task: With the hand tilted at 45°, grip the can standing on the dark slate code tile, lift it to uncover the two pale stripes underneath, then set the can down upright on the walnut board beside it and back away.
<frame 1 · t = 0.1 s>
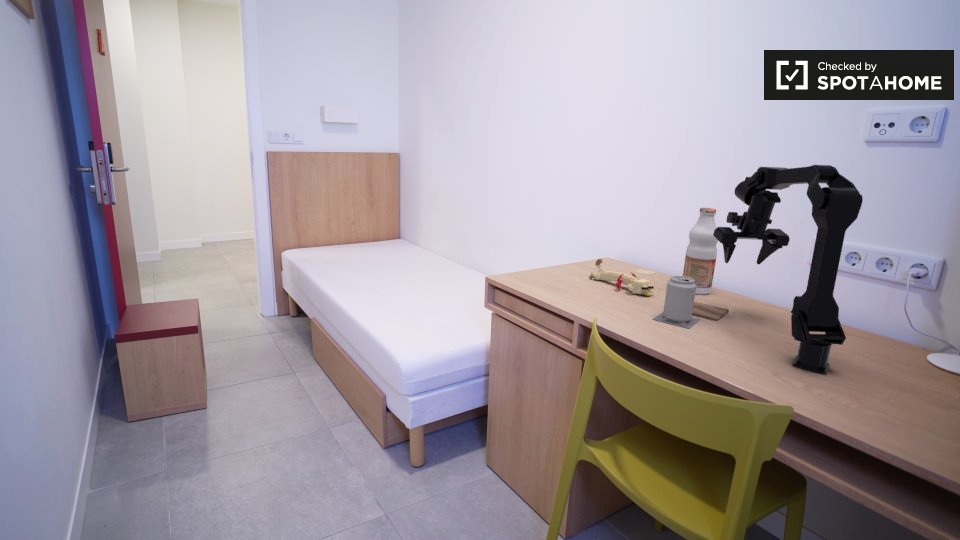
hand: (741, 263, 141), 15 cm above the table, tool pointing down, fingers open, 9 cm apart
cream voxel animal: (620, 288, 168), on the table
fruit juice: (695, 291, 167), on the table
board: (701, 311, 146), on the table
can: (676, 319, 138), on the table, touching code tile
code tile: (676, 319, 138), on the table
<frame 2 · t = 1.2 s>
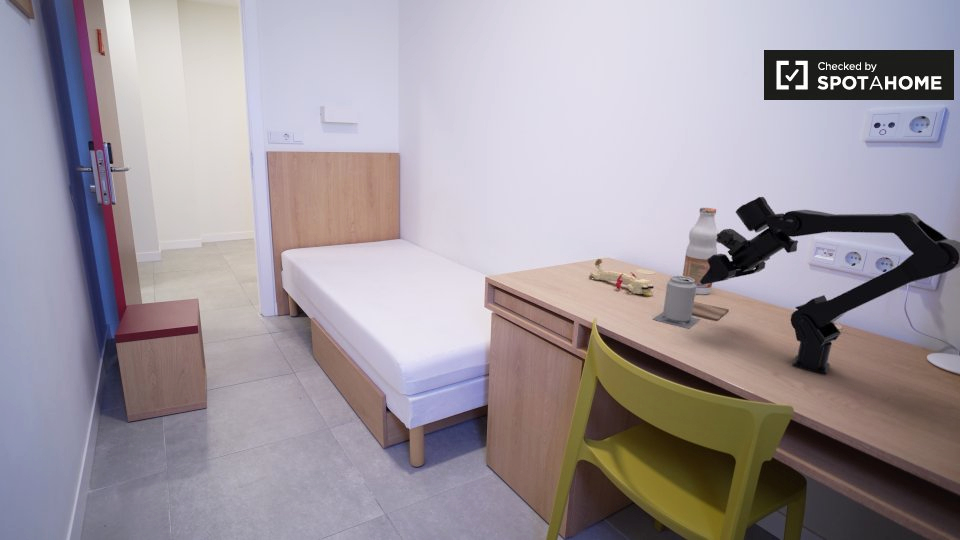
hand: (711, 280, 129), 13 cm above the table, tool tilted 45°, fingers open, 9 cm apart
nothing on the table moved.
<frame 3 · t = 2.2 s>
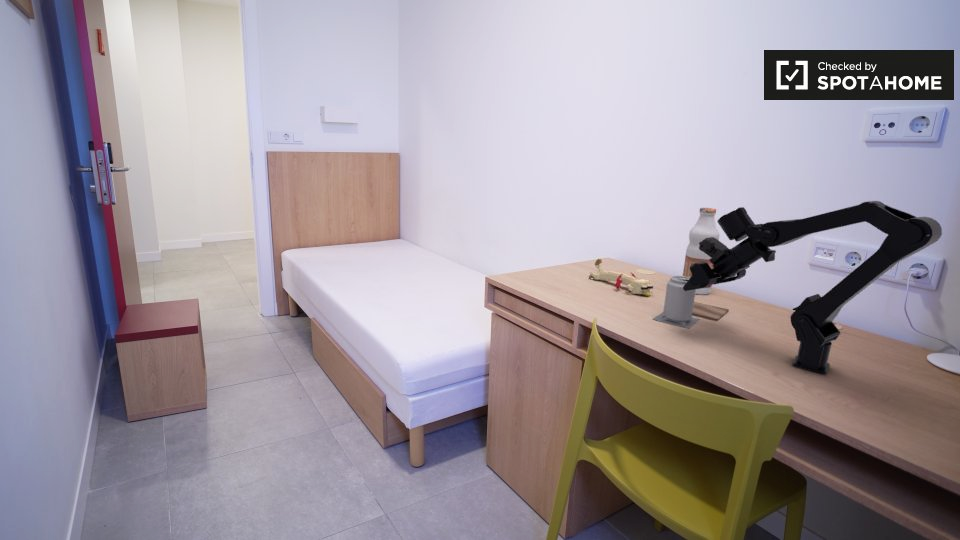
hand: (693, 286, 133), 11 cm above the table, tool tilted 45°, fingers open, 9 cm apart
nothing on the table moved.
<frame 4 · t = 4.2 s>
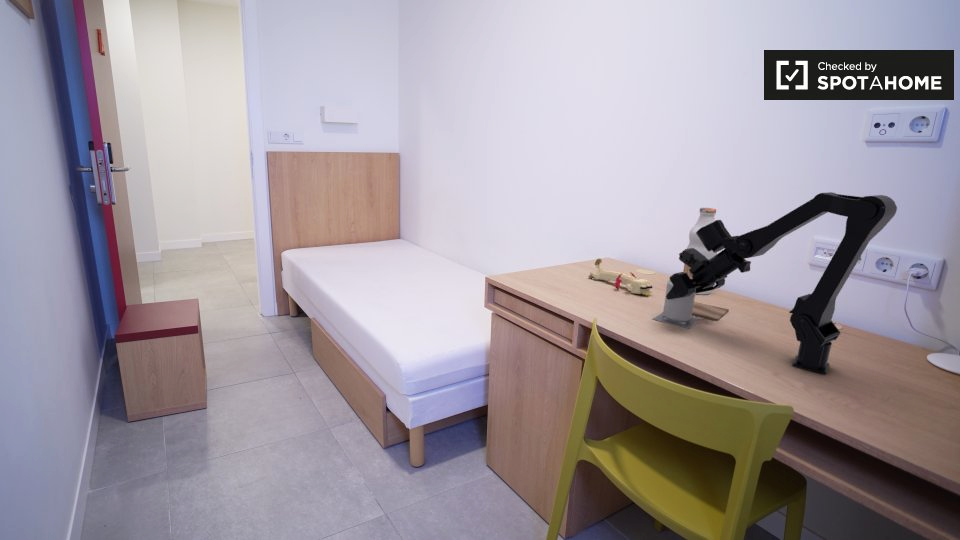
hand: (675, 295, 138), 7 cm above the table, tool tilted 45°, fingers closed on can, 7 cm apart
can: (676, 319, 138), on the table, touching code tile, gripper
everything else where it was.
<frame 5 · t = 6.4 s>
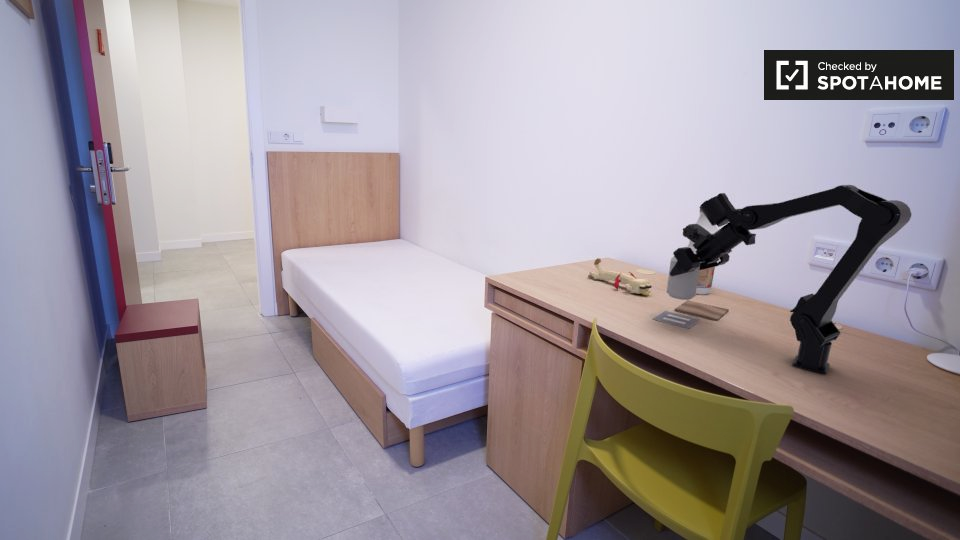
hand: (679, 273, 136), 13 cm above the table, tool tilted 45°, fingers closed on can, 7 cm apart
can: (680, 297, 137), point 7 cm above the table, touching gripper
everything else where it was.
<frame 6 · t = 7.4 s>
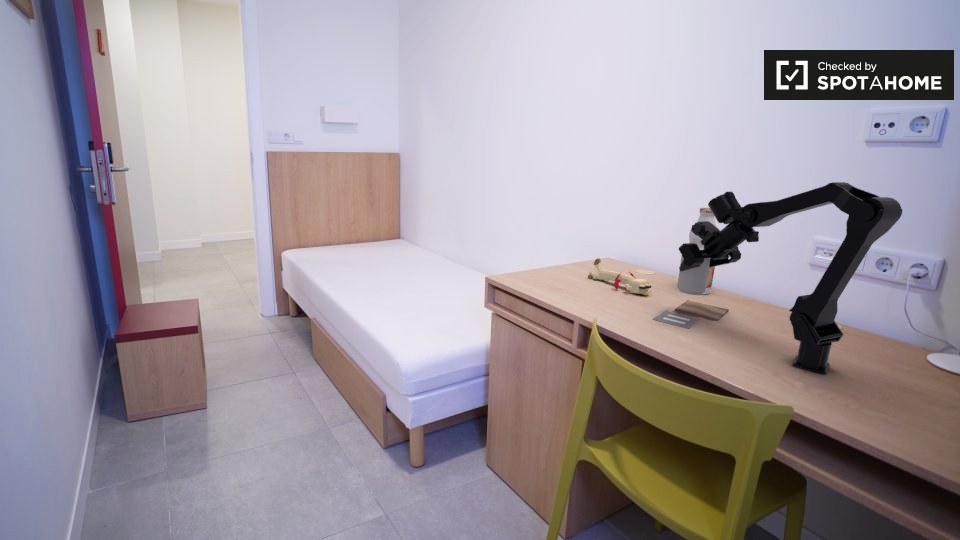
hand: (690, 268, 141), 13 cm above the table, tool tilted 45°, fingers closed on can, 7 cm apart
can: (690, 292, 141), point 7 cm above the table, touching gripper
everything else where it was.
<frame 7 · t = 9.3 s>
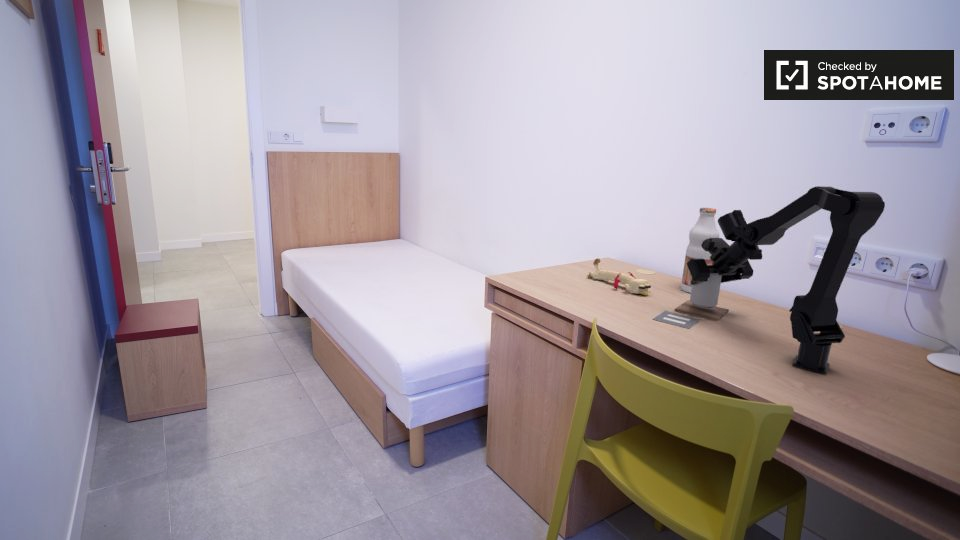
hand: (703, 283, 145), 8 cm above the table, tool tilted 45°, fingers closed on can, 7 cm apart
can: (702, 306, 146), point 2 cm above the table, touching gripper
everything else where it was.
when the fingers open (8 cm above the table, at t = 10.1 s): can drops 1 cm, resting on board.
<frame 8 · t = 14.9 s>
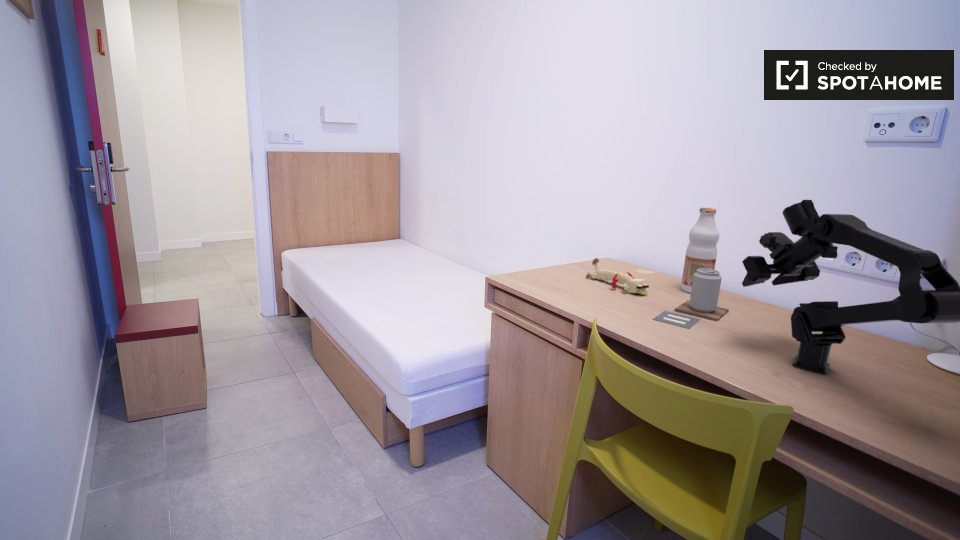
hand: (758, 284, 126), 14 cm above the table, tool tilted 45°, fingers open, 9 cm apart
can: (702, 309, 146), resting on board
at the end: can 0.2 cm from the board (horizontally); can tilted 0°; the gripper is holding nothing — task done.
